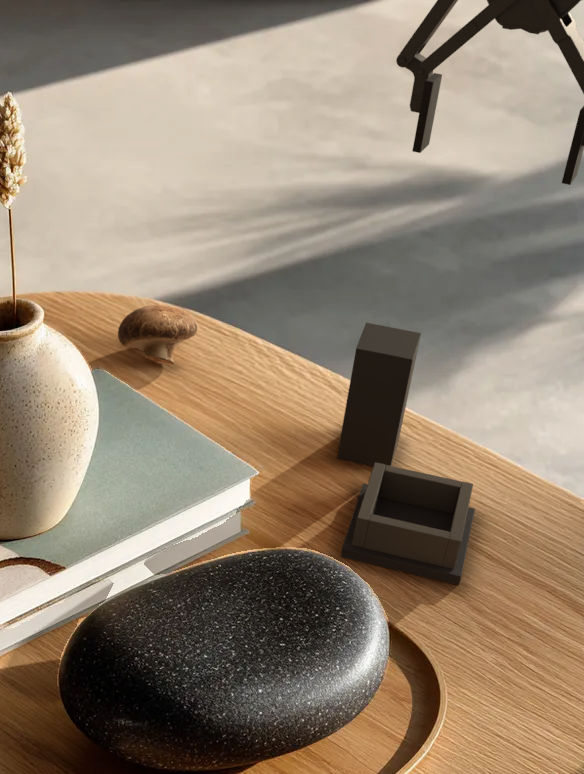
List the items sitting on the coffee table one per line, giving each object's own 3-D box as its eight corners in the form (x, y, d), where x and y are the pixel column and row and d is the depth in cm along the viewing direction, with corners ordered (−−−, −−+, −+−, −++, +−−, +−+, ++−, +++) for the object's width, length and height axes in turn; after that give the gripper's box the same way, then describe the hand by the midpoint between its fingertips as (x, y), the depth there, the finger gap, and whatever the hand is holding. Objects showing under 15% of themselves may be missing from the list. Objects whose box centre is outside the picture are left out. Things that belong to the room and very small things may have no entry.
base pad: (473, 517, 118) (482, 480, 116) (459, 585, 111) (468, 548, 109) (361, 491, 121) (368, 455, 119) (340, 557, 113) (347, 520, 111)
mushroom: (185, 359, 132) (175, 296, 132) (112, 372, 135) (102, 311, 135) (211, 360, 139) (202, 300, 139) (141, 373, 143) (132, 315, 143)
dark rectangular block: (398, 442, 128) (421, 332, 120) (389, 470, 124) (412, 359, 116) (346, 430, 129) (366, 322, 122) (336, 458, 125) (356, 348, 118)
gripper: (386, -101, 111) (348, 147, 123) (702, -57, 101) (626, 207, 113) (414, -115, 116) (375, 124, 128) (716, -75, 107) (643, 179, 119)
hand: (493, 163), depth 121 cm, fingers open, 13 cm apart
